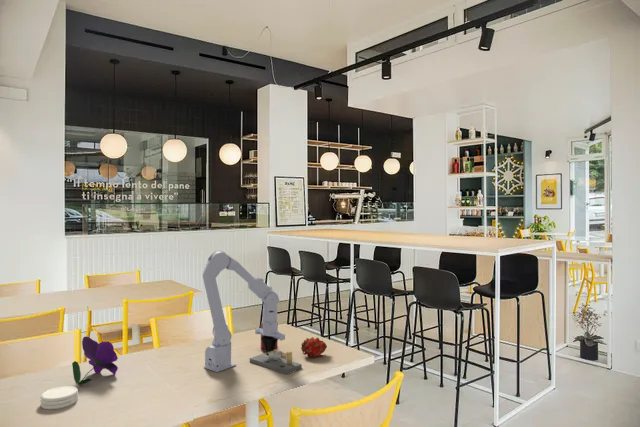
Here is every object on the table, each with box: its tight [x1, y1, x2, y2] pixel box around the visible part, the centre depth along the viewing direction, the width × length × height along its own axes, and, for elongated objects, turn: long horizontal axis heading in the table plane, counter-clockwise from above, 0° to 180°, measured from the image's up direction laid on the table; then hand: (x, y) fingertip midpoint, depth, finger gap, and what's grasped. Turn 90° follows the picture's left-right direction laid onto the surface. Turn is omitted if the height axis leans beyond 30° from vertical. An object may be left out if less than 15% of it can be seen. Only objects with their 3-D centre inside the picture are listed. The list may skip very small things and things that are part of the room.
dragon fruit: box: [300, 336, 328, 358], centre depth 182 cm, size 8×8×12 cm
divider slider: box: [267, 349, 282, 361], centre depth 172 cm, size 6×3×4 cm, turn 142°
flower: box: [71, 336, 119, 386], centre depth 154 cm, size 15×15×14 cm
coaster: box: [39, 385, 79, 411], centre depth 136 cm, size 10×10×4 cm
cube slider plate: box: [249, 350, 303, 375], centre depth 171 cm, size 8×20×6 cm, turn 52°
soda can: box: [260, 320, 279, 353], centre depth 189 cm, size 7×7×12 cm
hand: (269, 354), depth 175 cm, fingers closed
